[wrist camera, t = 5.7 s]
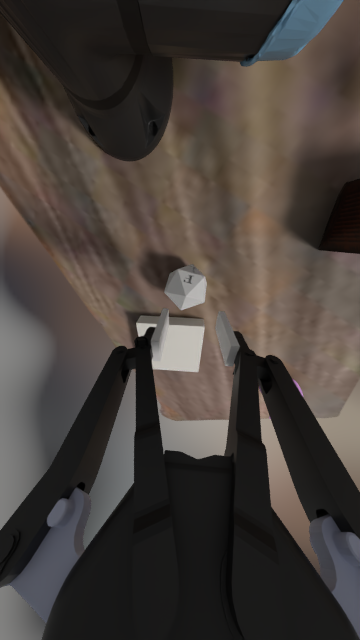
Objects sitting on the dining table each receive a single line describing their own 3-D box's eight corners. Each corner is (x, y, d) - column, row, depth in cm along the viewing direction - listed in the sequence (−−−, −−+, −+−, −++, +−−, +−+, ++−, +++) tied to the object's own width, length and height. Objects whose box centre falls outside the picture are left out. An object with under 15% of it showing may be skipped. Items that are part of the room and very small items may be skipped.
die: (210, 266, 31) (217, 278, 23) (198, 301, 36) (200, 321, 27) (174, 256, 31) (167, 264, 22) (166, 293, 35) (159, 311, 27)
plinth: (140, 315, 39) (136, 322, 36) (203, 318, 38) (204, 326, 35) (147, 359, 49) (144, 368, 45) (197, 362, 48) (198, 372, 45)
